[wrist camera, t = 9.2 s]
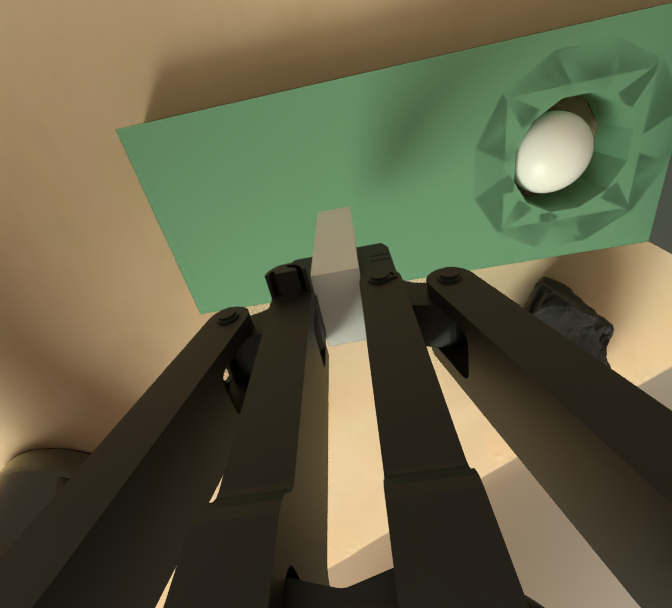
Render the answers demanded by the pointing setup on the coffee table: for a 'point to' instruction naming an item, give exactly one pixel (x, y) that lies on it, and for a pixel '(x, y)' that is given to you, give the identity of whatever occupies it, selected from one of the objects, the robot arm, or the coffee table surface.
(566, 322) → the mineral
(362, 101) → the green
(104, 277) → the coffee table surface
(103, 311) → the coffee table surface
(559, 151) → the ball
